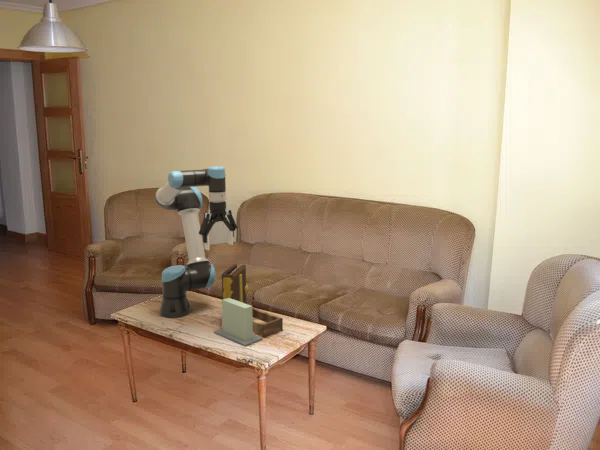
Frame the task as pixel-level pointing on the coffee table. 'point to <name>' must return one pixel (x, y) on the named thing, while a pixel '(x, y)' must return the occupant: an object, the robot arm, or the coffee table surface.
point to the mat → (238, 340)
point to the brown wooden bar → (258, 326)
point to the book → (235, 283)
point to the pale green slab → (237, 319)
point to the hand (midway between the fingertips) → (219, 247)
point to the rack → (268, 322)
